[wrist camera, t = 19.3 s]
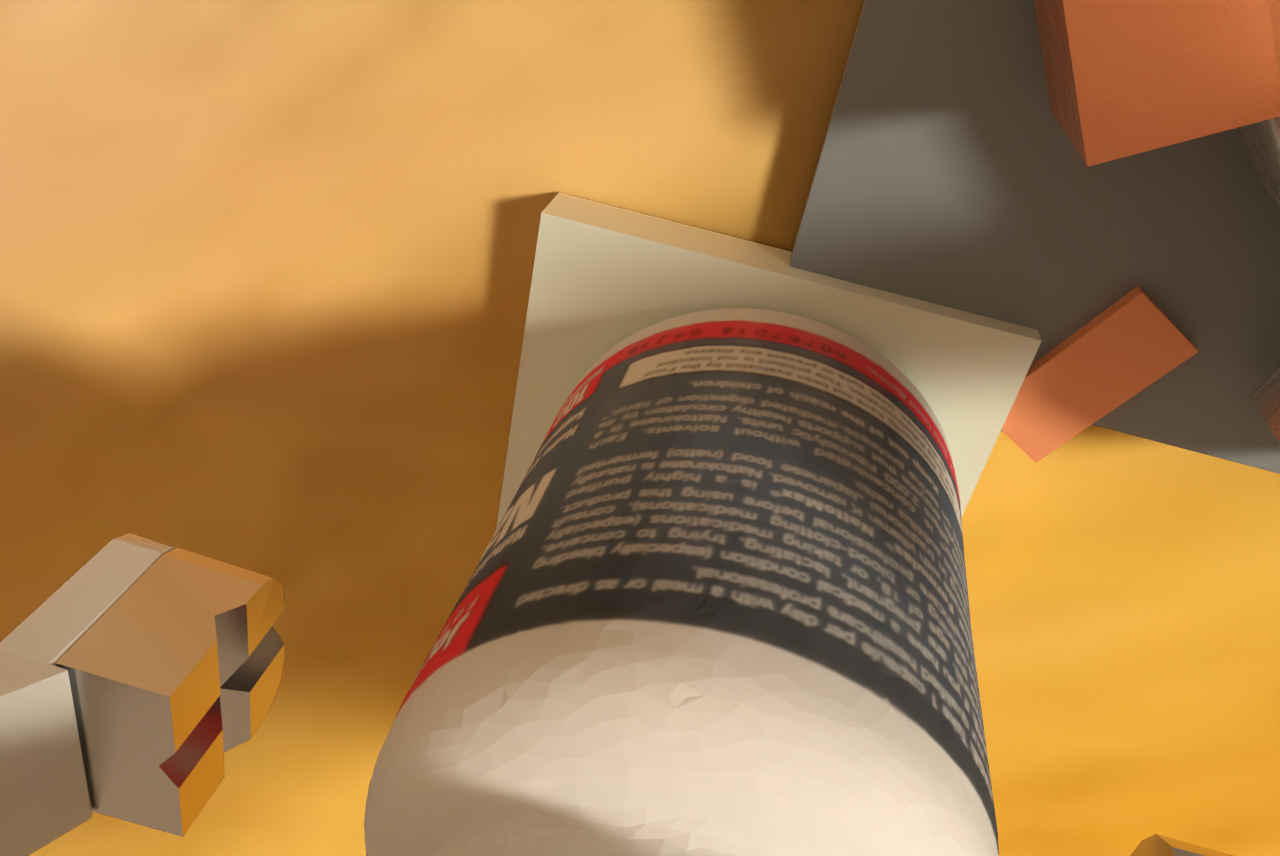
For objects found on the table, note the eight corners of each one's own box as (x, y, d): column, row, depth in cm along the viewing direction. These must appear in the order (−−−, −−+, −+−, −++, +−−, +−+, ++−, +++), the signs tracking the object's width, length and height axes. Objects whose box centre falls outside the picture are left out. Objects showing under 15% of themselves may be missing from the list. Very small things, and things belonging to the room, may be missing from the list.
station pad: (1032, 313, 12) (1040, 341, 12) (878, 661, 15) (878, 698, 15) (559, 192, 13) (541, 212, 12) (503, 556, 16) (487, 588, 15)
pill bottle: (554, 272, 12) (59, 958, 5) (996, 324, 12) (1220, 1236, 4) (555, 604, 15) (241, 1370, 8) (912, 663, 14) (955, 1581, 7)
